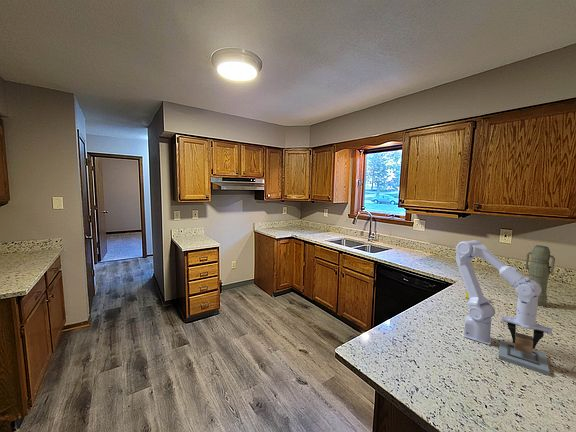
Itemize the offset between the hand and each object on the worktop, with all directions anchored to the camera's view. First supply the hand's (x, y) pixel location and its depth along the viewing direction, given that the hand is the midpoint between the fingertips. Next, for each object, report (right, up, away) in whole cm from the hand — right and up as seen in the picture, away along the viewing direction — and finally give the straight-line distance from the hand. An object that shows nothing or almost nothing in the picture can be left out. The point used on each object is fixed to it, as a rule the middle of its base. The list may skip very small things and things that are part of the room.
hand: (523, 344), depth 101 cm
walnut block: (0, -2, 0) cm, 2 cm away
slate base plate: (0, -5, 0) cm, 5 cm away
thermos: (+55, -2, +52) cm, 76 cm away
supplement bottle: (+20, -1, +57) cm, 60 cm away
